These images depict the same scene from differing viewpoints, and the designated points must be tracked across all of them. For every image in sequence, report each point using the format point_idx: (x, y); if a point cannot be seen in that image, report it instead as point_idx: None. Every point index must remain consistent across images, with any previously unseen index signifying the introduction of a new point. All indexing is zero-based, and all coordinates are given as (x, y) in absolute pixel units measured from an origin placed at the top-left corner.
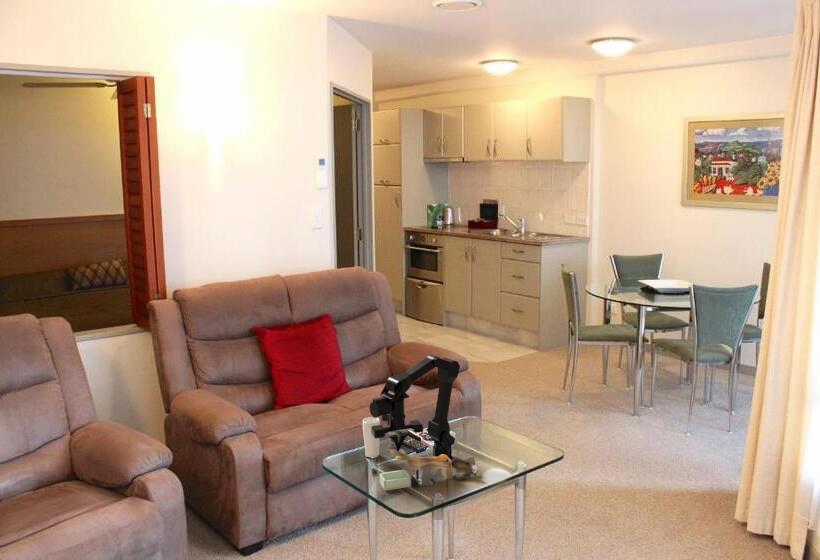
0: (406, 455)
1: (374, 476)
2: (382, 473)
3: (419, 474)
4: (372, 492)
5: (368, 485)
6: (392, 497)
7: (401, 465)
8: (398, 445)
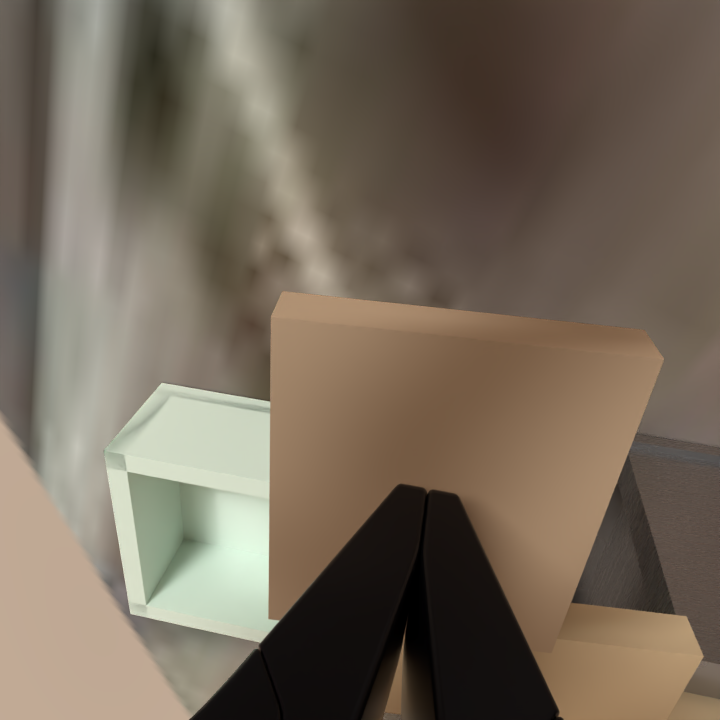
0: (537, 649)
1: (129, 221)
2: (143, 469)
3: (617, 579)
4: (69, 508)
5: (41, 385)
6: (218, 636)
7: (643, 41)
8: (406, 709)
